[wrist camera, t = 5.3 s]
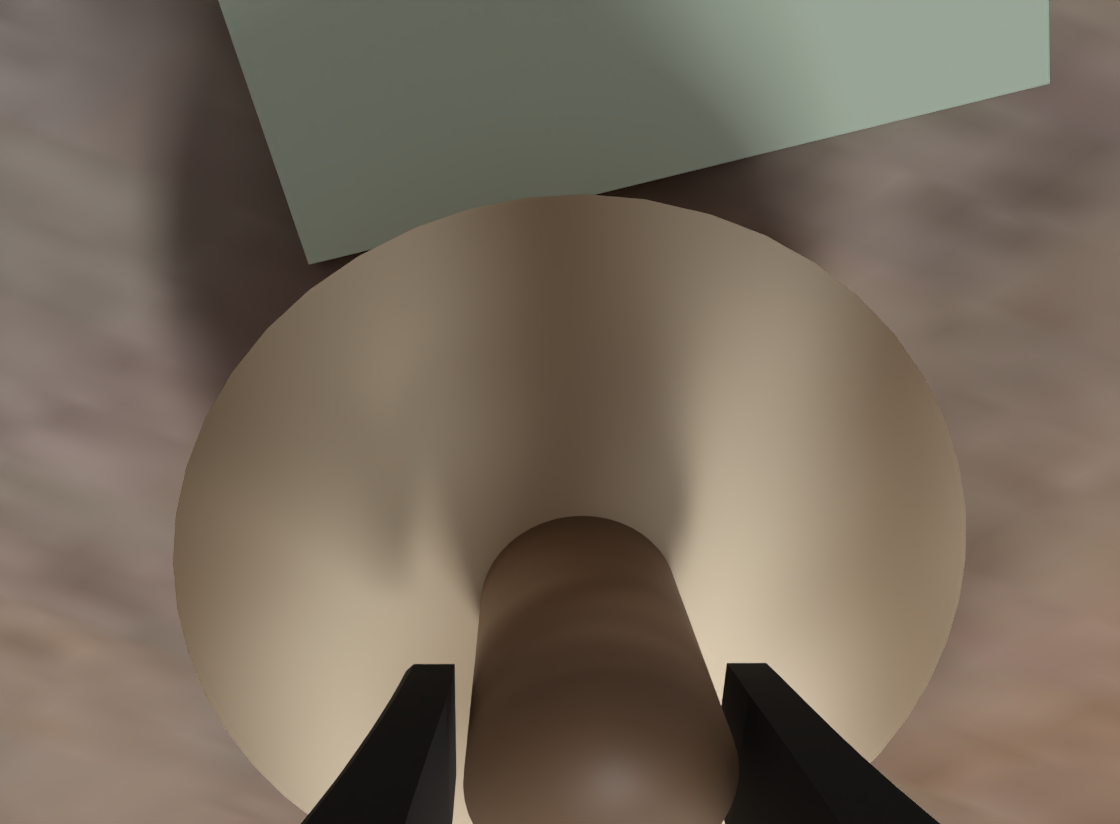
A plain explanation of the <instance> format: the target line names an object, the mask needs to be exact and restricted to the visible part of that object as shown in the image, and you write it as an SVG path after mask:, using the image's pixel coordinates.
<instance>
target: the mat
mask: <svg viewBox="0 0 1120 824" xmlns="http://www.w3.org/2000/svg"><path fill="white" fill-rule="evenodd" d="M218 1H219V4H220V7H221V10H222V13H223V16H224V19H225V22H226V25H227V28H228V30H229V33H230V36H231V39H232V42H233V45H234V48H235V51H236V54H237V57H238V60H239V63H240V66H241V68H242V71H243V74H244V77H245V80H246V83H247V86H248V89H249V92H250V95H251V98H252V101H253V104H254V106H255V109H256V112H257V115H258V118H259V121H260V124H261V127H262V130H263V133H264V136H265V139H266V141H267V144H268V147H269V150H270V153H271V156H272V159H273V162H274V165H275V168H276V171H277V174H278V177H279V179H280V182H281V185H282V188H283V191H284V194H285V197H286V200H287V203H288V206H289V209H290V212H291V215H292V217H293V220H294V223H295V226H296V229H297V232H298V235H299V238H300V241H301V244H302V247H303V250H304V252H305V255H306V258H307V261H308V264H309V265H310V264H314V263H318V262H322V261H326V260H330V259H334V258H338V257H342V256H346V255H351V254H355V253H359V252H363V251H367V250H371V249H374V248H376V247H378V246H380V245H382V244H384V243H386V242H388V241H390V240H392V239H394V238H396V237H398V236H400V235H402V234H404V233H406V232H408V231H410V230H412V229H414V228H416V227H418V226H420V225H423V224H426V223H429V222H432V221H435V220H438V219H441V218H444V217H447V216H450V215H453V214H456V213H459V212H462V211H465V210H468V209H471V208H475V207H480V206H485V205H491V204H496V203H501V202H506V201H512V200H517V199H522V198H528V197H542V196H562V195H582V194H591V195H596V194H600V193H604V192H608V191H612V190H616V189H620V188H624V187H628V186H633V185H637V184H641V183H645V182H649V181H653V180H657V179H661V178H665V177H669V176H673V175H678V174H682V173H686V172H690V171H694V170H698V169H702V168H706V167H710V166H714V165H718V164H722V163H727V162H731V161H735V160H739V159H743V158H747V157H751V156H755V155H759V154H763V153H767V152H772V151H776V150H780V149H784V148H788V147H792V146H796V145H800V144H804V143H808V142H812V141H816V140H821V139H825V138H829V137H833V136H837V135H841V134H845V133H849V132H853V131H857V130H861V129H866V128H870V127H874V126H878V125H882V124H886V123H890V122H894V121H898V120H902V119H906V118H910V117H915V116H919V115H923V114H927V113H931V112H935V111H939V110H943V109H947V108H951V107H955V106H960V105H964V104H968V103H972V102H976V101H980V100H984V99H988V98H992V97H996V96H1000V95H1005V94H1009V93H1013V92H1017V91H1021V90H1025V89H1029V88H1033V87H1037V86H1041V85H1045V84H1049V83H1050V66H1049V0H218Z"/></svg>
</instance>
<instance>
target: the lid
mask: <svg viewBox="0 0 1120 824" xmlns="http://www.w3.org/2000/svg"><path fill="white" fill-rule="evenodd" d="M965 558H966V509H965V502H964V495H963V488H962V481H961V475H960V468H959V463H958V460H957V457H956V454H955V450H954V447H953V444H952V441H951V437H950V434H949V431H948V428H947V425H946V421H945V419H944V417H943V415H942V413H941V411H940V409H939V406H938V404H937V402H936V400H935V398H934V396H933V394H932V392H931V390H930V388H929V386H928V384H927V382H926V380H925V378H924V376H923V374H922V373H921V372H920V370H919V369H918V367H917V366H916V364H915V363H914V362H913V360H912V359H911V357H910V356H909V354H908V353H907V352H906V350H905V349H904V347H903V346H902V344H901V343H900V341H899V340H898V339H897V337H896V336H895V334H894V333H893V332H892V331H891V330H890V329H889V328H888V327H887V326H886V325H885V324H884V323H883V322H882V321H881V320H880V319H879V318H878V317H877V316H876V314H875V313H874V312H873V311H872V310H871V309H870V308H869V307H868V306H867V305H866V304H865V303H864V302H863V301H862V300H861V299H860V298H859V297H858V296H857V295H856V294H854V293H853V292H852V291H851V290H849V289H848V288H847V287H845V286H844V285H843V284H841V283H840V282H839V281H838V280H836V279H835V278H834V277H832V276H831V275H830V274H829V273H827V272H826V271H825V270H823V269H822V268H821V267H819V266H818V265H817V264H816V263H814V262H812V261H810V260H809V259H807V258H805V257H803V256H801V255H800V254H798V253H796V252H794V251H793V250H791V249H789V248H787V247H785V246H784V245H782V244H780V243H778V242H776V241H775V240H773V239H771V238H769V237H768V236H766V235H763V234H760V233H758V232H755V231H753V230H750V229H747V228H745V227H742V226H740V225H737V224H734V223H732V222H729V221H727V220H724V219H721V218H719V217H716V216H714V215H711V214H707V213H702V212H698V211H694V210H689V209H685V208H681V207H676V206H672V205H668V204H663V203H659V202H655V201H650V200H646V199H637V198H625V197H614V196H602V195H591V194H582V195H562V196H542V197H528V198H522V199H517V200H512V201H506V202H501V203H496V204H491V205H485V206H480V207H475V208H471V209H468V210H465V211H462V212H459V213H456V214H453V215H450V216H447V217H444V218H441V219H438V220H435V221H432V222H429V223H426V224H423V225H420V226H418V227H416V228H414V229H412V230H410V231H408V232H406V233H404V234H402V235H400V236H398V237H396V238H394V239H392V240H390V241H388V242H386V243H384V244H382V245H380V246H378V247H376V248H374V249H372V250H370V251H368V252H366V253H364V254H362V255H360V256H358V257H356V258H355V259H354V260H352V261H351V262H349V263H348V264H346V265H345V266H343V267H342V268H340V269H339V270H338V271H336V272H335V273H333V274H332V275H330V276H329V277H327V278H326V279H324V280H323V281H322V282H320V283H319V284H317V285H316V286H314V287H313V288H311V289H310V290H309V291H307V292H306V293H305V294H304V295H303V296H302V297H301V298H300V299H299V300H298V301H297V302H296V303H294V304H293V305H292V306H291V307H290V308H289V309H288V310H287V311H286V312H285V313H284V314H283V315H281V316H280V317H279V318H278V319H277V320H276V321H275V322H274V323H273V324H272V325H271V326H270V327H269V328H267V329H266V331H265V332H264V333H263V334H262V336H261V337H260V338H259V339H258V341H257V342H256V343H255V344H254V346H253V347H252V348H251V349H250V351H249V352H248V353H247V354H246V356H245V357H244V358H243V359H242V361H241V362H240V363H239V364H238V366H237V367H236V368H235V369H234V370H233V372H232V373H231V375H230V377H229V378H228V380H227V382H226V384H225V385H224V387H223V389H222V391H221V392H220V394H219V396H218V397H217V399H216V401H215V403H214V404H213V406H212V408H211V409H210V411H209V413H208V415H207V416H206V418H205V421H204V423H203V426H202V428H201V431H200V433H199V436H198V438H197V441H196V444H195V446H194V449H193V451H192V454H191V456H190V459H189V461H188V464H187V467H186V471H185V476H184V481H183V485H182V490H181V494H180V499H179V503H178V508H177V512H176V523H175V539H174V555H173V567H174V578H175V588H176V599H177V609H178V613H179V617H180V621H181V625H182V629H183V633H184V637H185V641H186V645H187V649H188V653H189V656H190V658H191V660H192V663H193V665H194V668H195V670H196V673H197V675H198V677H199V680H200V682H201V685H202V687H203V690H204V692H205V694H206V696H207V698H208V700H209V701H210V703H211V705H212V706H213V708H214V710H215V711H216V713H217V715H218V717H219V718H220V720H221V722H222V723H223V725H224V727H225V728H226V730H227V732H228V733H229V735H230V736H231V737H232V738H233V740H234V741H235V742H236V744H237V745H238V746H239V747H240V749H241V750H242V751H243V752H244V754H245V755H246V756H247V758H248V759H249V760H250V761H251V763H252V764H253V765H254V766H255V768H256V769H257V770H258V771H259V772H260V773H262V774H263V775H264V776H265V777H266V778H267V779H268V780H269V781H270V782H271V783H272V784H273V785H274V786H275V787H276V788H277V789H278V790H279V791H280V792H281V793H282V794H283V795H284V796H285V797H286V798H287V799H288V800H290V801H291V802H292V803H294V804H295V805H296V806H298V807H299V808H300V809H302V810H303V811H304V812H305V813H307V814H309V813H310V812H311V810H312V809H313V808H314V807H315V805H316V804H317V803H318V802H319V800H320V799H321V798H322V796H323V795H324V794H325V793H326V791H327V790H328V789H329V788H330V786H331V785H332V784H333V782H334V781H335V780H336V779H337V777H338V776H339V775H340V773H341V772H342V770H343V769H344V768H345V766H346V765H347V763H348V762H349V761H350V759H351V758H352V756H353V755H354V753H355V752H356V751H357V749H358V748H359V746H360V745H361V743H362V742H363V741H364V739H365V738H366V736H367V735H368V733H369V732H370V730H371V729H372V727H373V726H374V724H375V723H376V721H377V720H378V718H379V717H380V715H381V713H382V712H383V710H384V709H385V707H386V705H387V704H388V702H389V701H390V699H391V697H392V695H393V694H394V692H395V690H396V689H397V687H398V685H399V683H400V681H401V680H402V678H403V676H404V674H405V672H406V670H408V669H409V668H410V667H411V666H412V665H413V664H455V712H456V785H455V798H454V810H453V822H452V824H725V822H724V819H725V817H726V815H727V813H728V812H729V810H730V808H731V805H732V803H733V800H734V797H735V794H736V790H737V785H738V779H739V762H738V754H737V749H736V746H735V743H734V739H733V737H732V734H731V731H730V728H729V726H728V723H727V720H726V718H725V715H724V712H723V709H722V707H721V705H722V697H723V689H724V681H725V673H726V665H727V663H767V664H768V665H769V666H770V667H771V668H772V669H773V670H774V671H775V672H776V673H777V674H778V675H779V676H780V677H781V678H782V679H783V680H784V681H785V682H786V683H787V684H788V685H789V686H790V687H791V688H792V689H793V690H794V691H795V692H796V693H797V694H798V695H799V696H800V697H801V698H802V699H803V700H804V701H805V702H806V703H807V704H808V705H809V706H810V707H811V708H813V709H814V710H815V711H816V712H817V713H818V714H819V715H820V716H821V717H822V718H823V719H824V720H825V721H826V722H827V723H828V724H829V725H830V726H831V727H832V728H833V729H834V730H835V731H836V732H837V733H838V734H839V735H840V736H841V737H842V738H843V739H844V740H845V741H846V742H848V743H849V744H850V745H851V746H852V747H853V748H854V749H855V750H856V751H857V752H858V753H859V754H860V755H861V756H862V757H864V758H865V759H866V760H867V761H868V762H869V763H871V762H872V761H873V760H874V759H875V758H876V757H877V756H878V755H879V754H880V752H881V751H882V750H883V748H884V747H885V746H886V745H887V743H888V742H889V741H890V740H891V738H892V737H893V736H894V735H895V733H896V732H897V731H898V729H899V728H900V727H901V726H902V724H903V723H904V722H905V721H906V719H907V718H908V716H909V714H910V713H911V711H912V709H913V708H914V706H915V704H916V703H917V701H918V699H919V698H920V696H921V695H922V693H923V691H924V690H925V688H926V686H927V685H928V683H929V681H930V679H931V677H932V674H933V672H934V670H935V668H936V665H937V663H938V661H939V659H940V656H941V654H942V652H943V650H944V647H945V645H946V643H947V640H948V636H949V633H950V630H951V626H952V623H953V620H954V616H955V613H956V609H957V606H958V603H959V598H960V591H961V585H962V578H963V571H964V565H965Z"/></svg>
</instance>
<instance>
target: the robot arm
mask: <svg viewBox="0 0 1120 824" xmlns="http://www.w3.org/2000/svg"><path fill="white" fill-rule="evenodd" d="M721 707H722V709H723V712H724V715H725V718H726V720H727V723H728V726H729V728H730V731H731V734H732V737H733V739H734V743H735V746H736V749H737V754H738V762H739V779H738V785H737V790H736V794H735V797H734V800H733V803H732V805H731V808H730V810H729V812H728V813H727V815H726V817H725V819H724V822H725V824H940V823H938V822H937V821H936V820H935V819H934V818H932V817H931V816H930V815H929V814H928V813H926V812H925V811H924V810H923V809H922V808H921V807H919V806H918V805H917V804H916V803H915V802H913V801H912V800H911V799H910V798H909V797H908V796H906V795H905V794H904V793H903V792H902V791H900V790H899V789H898V788H897V787H896V786H895V785H893V784H892V783H891V782H890V781H889V780H888V779H887V778H886V777H885V776H883V775H882V774H881V773H880V772H879V771H878V770H877V769H876V768H874V767H873V766H872V765H871V764H870V763H869V762H868V761H867V760H866V759H865V758H864V757H862V756H861V755H860V754H859V753H858V752H857V751H856V750H855V749H854V748H853V747H852V746H851V745H850V744H849V743H848V742H846V741H845V740H844V739H843V738H842V737H841V736H840V735H839V734H838V733H837V732H836V731H835V730H834V729H833V728H832V727H831V726H830V725H829V724H828V723H827V722H826V721H825V720H824V719H823V718H822V717H821V716H820V715H819V714H818V713H817V712H816V711H815V710H814V709H813V708H811V707H810V706H809V705H808V704H807V703H806V702H805V701H804V700H803V699H802V698H801V697H800V696H799V695H798V694H797V693H796V692H795V691H794V690H793V689H792V688H791V687H790V686H789V685H788V684H787V683H786V682H785V681H784V680H783V679H782V678H781V677H780V676H779V675H778V674H777V673H776V672H775V671H774V670H773V669H772V668H771V667H770V666H769V665H768V664H767V663H727V665H726V673H725V681H724V689H723V697H722V705H721ZM455 785H456V712H455V664H413V665H412V666H411V667H410V668H409V669H408V670H406V672H405V674H404V676H403V678H402V680H401V681H400V683H399V685H398V687H397V689H396V690H395V692H394V694H393V695H392V697H391V699H390V701H389V702H388V704H387V705H386V707H385V709H384V710H383V712H382V713H381V715H380V717H379V718H378V720H377V721H376V723H375V724H374V726H373V727H372V729H371V730H370V732H369V733H368V735H367V736H366V738H365V739H364V741H363V742H362V743H361V745H360V746H359V748H358V749H357V751H356V752H355V753H354V755H353V756H352V758H351V759H350V761H349V762H348V763H347V765H346V766H345V768H344V769H343V770H342V772H341V773H340V775H339V776H338V777H337V779H336V780H335V781H334V782H333V784H332V785H331V786H330V788H329V789H328V790H327V791H326V793H325V794H324V795H323V796H322V798H321V799H320V800H319V802H318V803H317V804H316V805H315V807H314V808H313V809H312V810H311V812H310V813H309V814H308V815H307V817H306V818H305V819H304V821H303V822H302V823H301V824H452V822H453V810H454V798H455Z"/></svg>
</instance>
